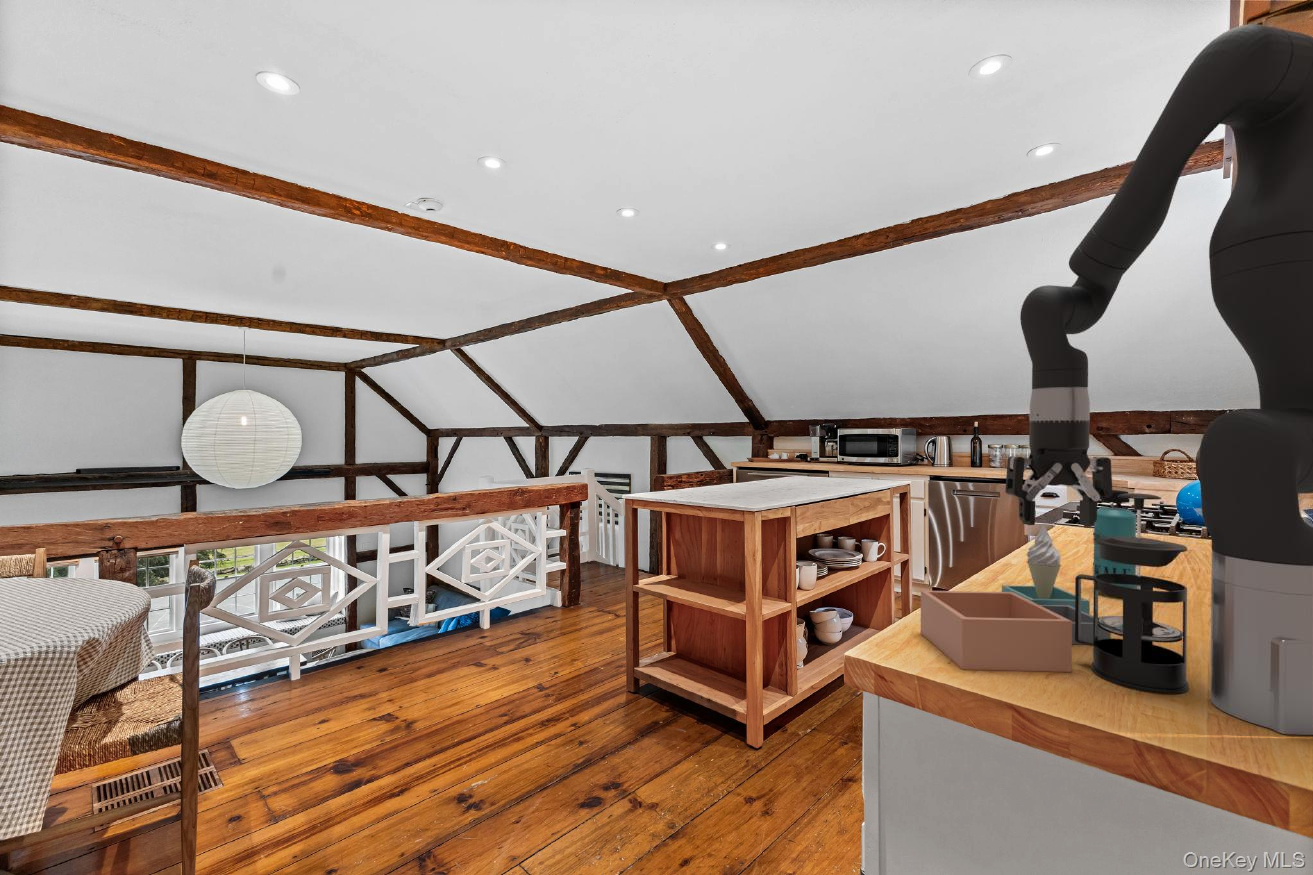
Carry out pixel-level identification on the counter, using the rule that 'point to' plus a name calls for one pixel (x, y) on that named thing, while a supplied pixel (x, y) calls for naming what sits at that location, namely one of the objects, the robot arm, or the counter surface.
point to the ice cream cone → (1043, 564)
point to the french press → (1137, 615)
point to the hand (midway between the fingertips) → (1057, 524)
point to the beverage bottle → (1114, 534)
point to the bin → (996, 631)
